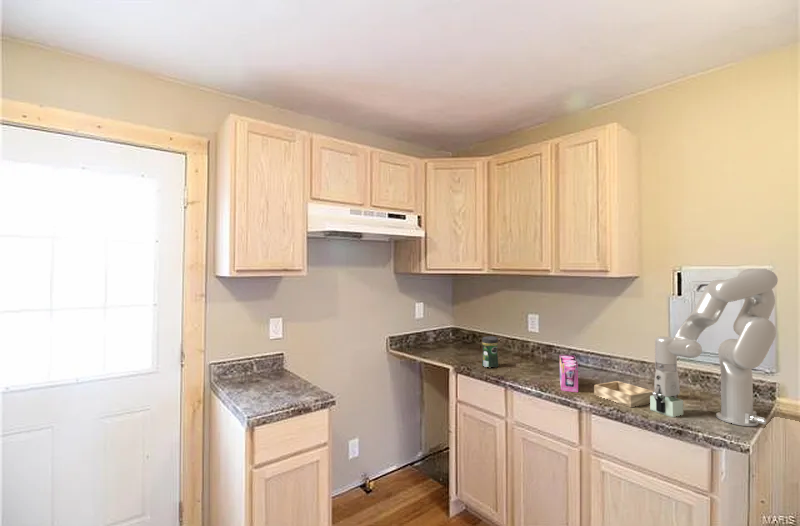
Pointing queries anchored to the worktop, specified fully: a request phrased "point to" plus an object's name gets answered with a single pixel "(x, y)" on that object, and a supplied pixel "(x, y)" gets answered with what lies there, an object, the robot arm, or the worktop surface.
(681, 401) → the small crate
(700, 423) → the worktop surface
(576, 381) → the gum box
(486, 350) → the coffee jar
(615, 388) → the wooden tray
